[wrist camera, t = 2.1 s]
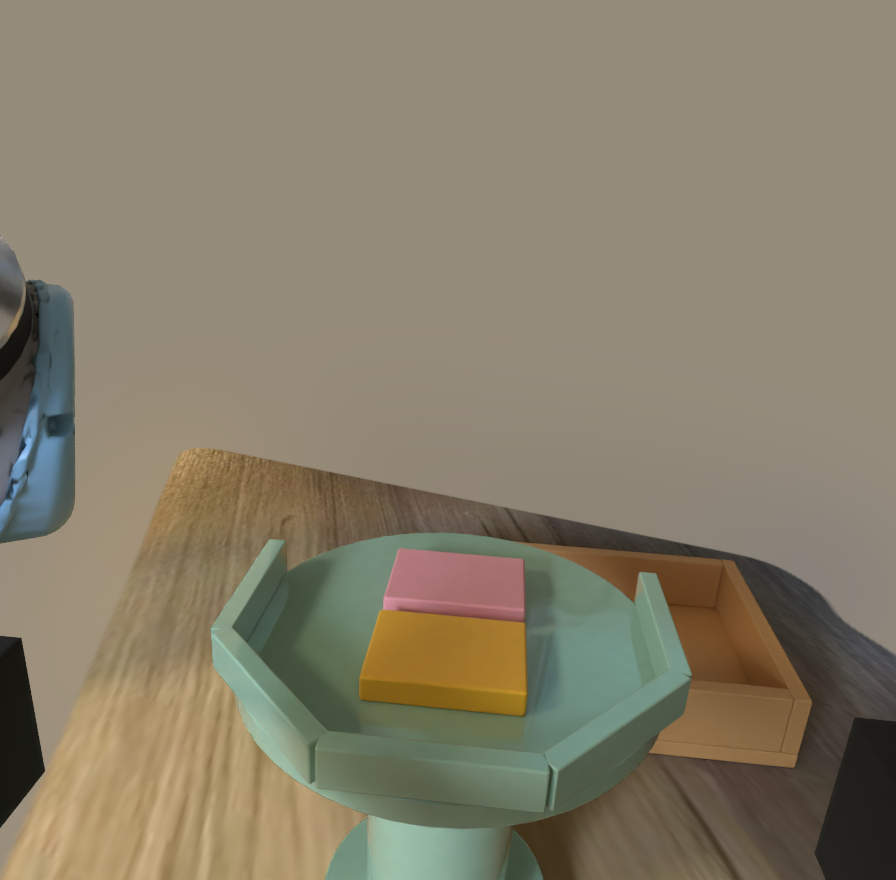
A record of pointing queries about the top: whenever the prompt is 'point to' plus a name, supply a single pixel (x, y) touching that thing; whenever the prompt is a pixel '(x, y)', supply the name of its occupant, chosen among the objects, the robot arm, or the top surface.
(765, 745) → the box
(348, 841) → the green pedestal stand
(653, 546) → the top surface
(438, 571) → the sachet
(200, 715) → the top surface
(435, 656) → the sachet
